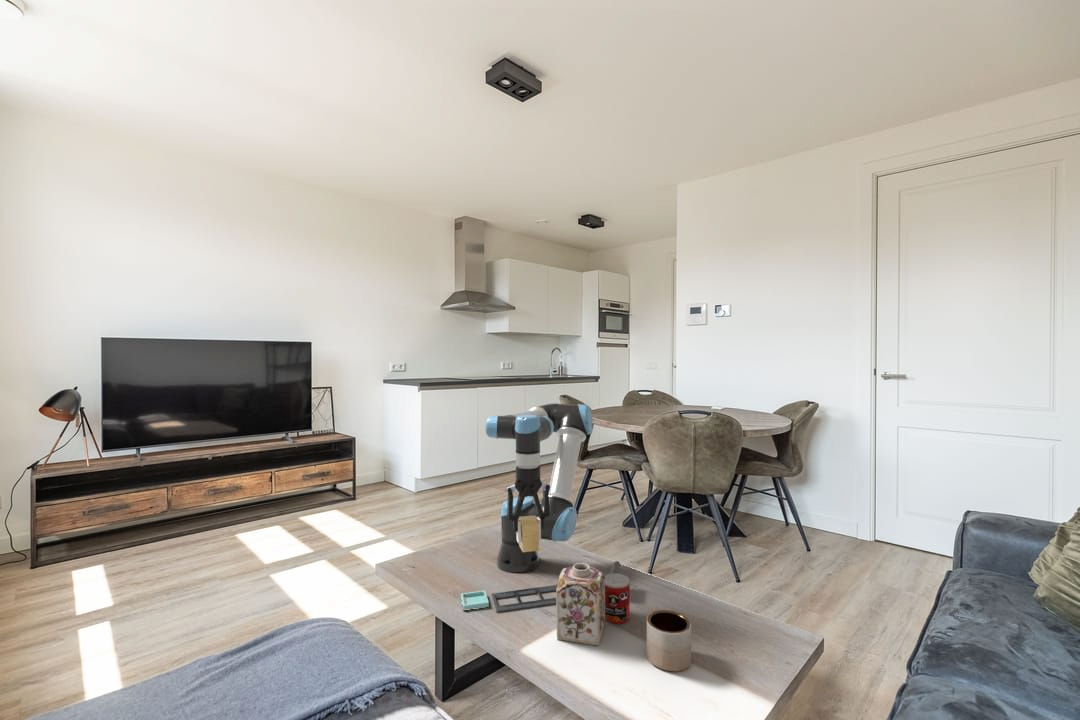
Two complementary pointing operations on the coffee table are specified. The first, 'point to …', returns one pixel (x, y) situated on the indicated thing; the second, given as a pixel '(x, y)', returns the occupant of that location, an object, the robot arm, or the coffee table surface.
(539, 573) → the coffee table surface
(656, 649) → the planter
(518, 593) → the rail
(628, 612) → the canned food
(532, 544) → the block
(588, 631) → the decorative jar
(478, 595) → the parts tray
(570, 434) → the robot arm
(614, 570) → the portable electronic device stand
